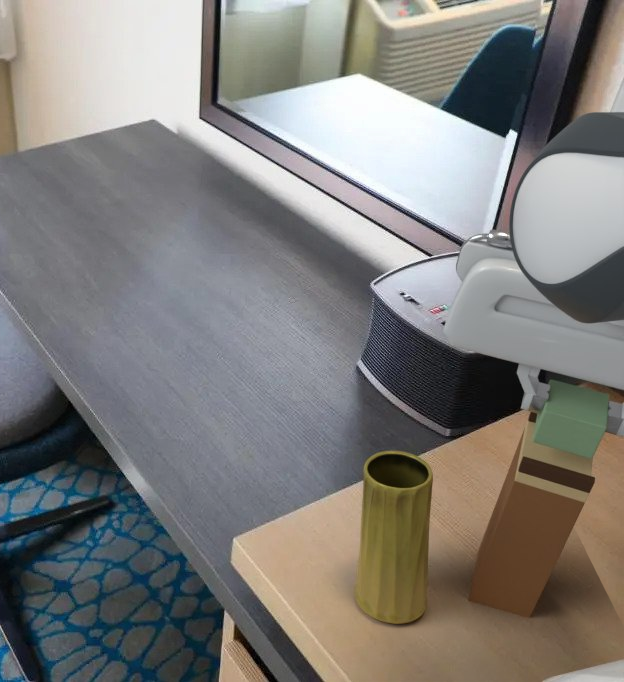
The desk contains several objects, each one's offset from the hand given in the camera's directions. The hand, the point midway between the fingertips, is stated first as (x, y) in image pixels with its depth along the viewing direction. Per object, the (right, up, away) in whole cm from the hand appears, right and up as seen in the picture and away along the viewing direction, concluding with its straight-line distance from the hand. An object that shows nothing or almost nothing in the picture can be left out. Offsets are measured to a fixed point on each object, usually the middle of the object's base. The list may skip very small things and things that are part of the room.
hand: (571, 418), depth 58 cm
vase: (-9, -17, +12) cm, 23 cm away
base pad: (+1, -16, +12) cm, 21 cm away
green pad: (0, -1, +1) cm, 2 cm away
